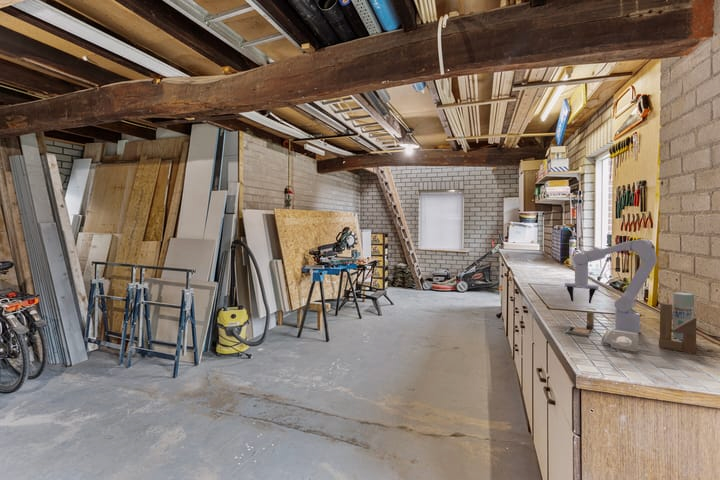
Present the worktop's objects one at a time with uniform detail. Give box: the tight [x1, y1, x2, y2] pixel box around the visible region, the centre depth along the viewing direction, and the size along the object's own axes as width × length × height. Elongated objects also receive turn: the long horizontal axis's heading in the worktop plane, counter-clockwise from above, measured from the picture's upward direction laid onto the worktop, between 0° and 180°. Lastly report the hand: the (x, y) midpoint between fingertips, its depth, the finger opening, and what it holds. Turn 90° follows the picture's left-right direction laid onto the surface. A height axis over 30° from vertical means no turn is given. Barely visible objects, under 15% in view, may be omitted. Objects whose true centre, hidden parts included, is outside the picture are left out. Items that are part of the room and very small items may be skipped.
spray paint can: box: [672, 291, 695, 341], centre depth 147 cm, size 6×6×20 cm
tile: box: [572, 327, 591, 335], centre depth 157 cm, size 6×6×2 cm
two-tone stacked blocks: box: [585, 311, 595, 332], centre depth 164 cm, size 2×7×8 cm, turn 140°
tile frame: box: [565, 325, 592, 338], centre depth 158 cm, size 9×11×1 cm
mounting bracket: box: [600, 328, 640, 352], centre depth 138 cm, size 12×6×11 cm, turn 52°
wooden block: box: [658, 302, 698, 354], centre depth 135 cm, size 4×11×18 cm, turn 47°
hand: (580, 302), depth 174 cm, fingers open, 7 cm apart
